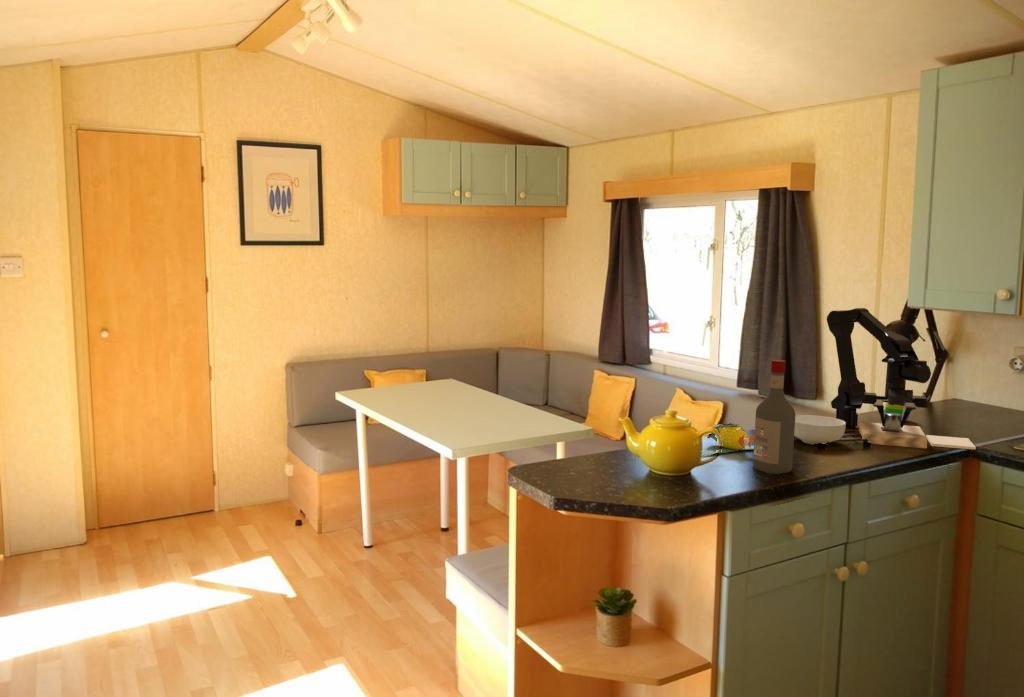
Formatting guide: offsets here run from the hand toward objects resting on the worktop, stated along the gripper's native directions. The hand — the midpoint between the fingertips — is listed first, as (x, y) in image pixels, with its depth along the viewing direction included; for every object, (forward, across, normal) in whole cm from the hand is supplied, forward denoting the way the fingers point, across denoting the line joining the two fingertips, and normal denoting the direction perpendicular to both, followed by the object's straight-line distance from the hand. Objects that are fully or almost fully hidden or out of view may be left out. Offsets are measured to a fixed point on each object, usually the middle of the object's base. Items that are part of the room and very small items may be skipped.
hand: (892, 426), depth 270 cm
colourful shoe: (+5, -47, -33) cm, 58 cm away
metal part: (+4, 0, 0) cm, 4 cm away
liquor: (+4, -35, -51) cm, 62 cm away
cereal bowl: (+4, -23, -13) cm, 27 cm away
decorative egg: (+4, +5, +32) cm, 33 cm away
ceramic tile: (+4, +17, +1) cm, 17 cm away
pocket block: (+4, 0, 0) cm, 4 cm away
